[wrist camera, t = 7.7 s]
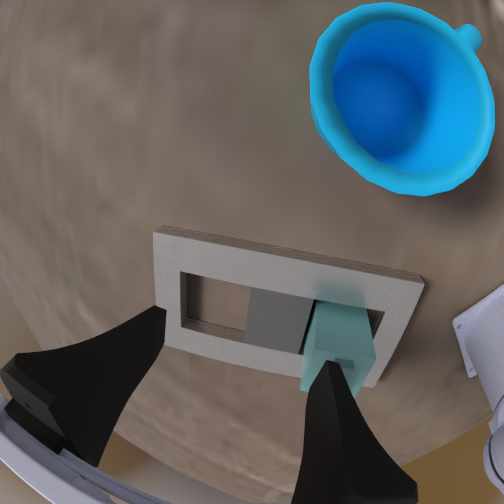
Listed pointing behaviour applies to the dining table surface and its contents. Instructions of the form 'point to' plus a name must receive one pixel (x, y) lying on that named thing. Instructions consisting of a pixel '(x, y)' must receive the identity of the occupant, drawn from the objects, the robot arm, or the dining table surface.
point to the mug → (402, 98)
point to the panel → (274, 298)
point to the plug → (338, 343)
